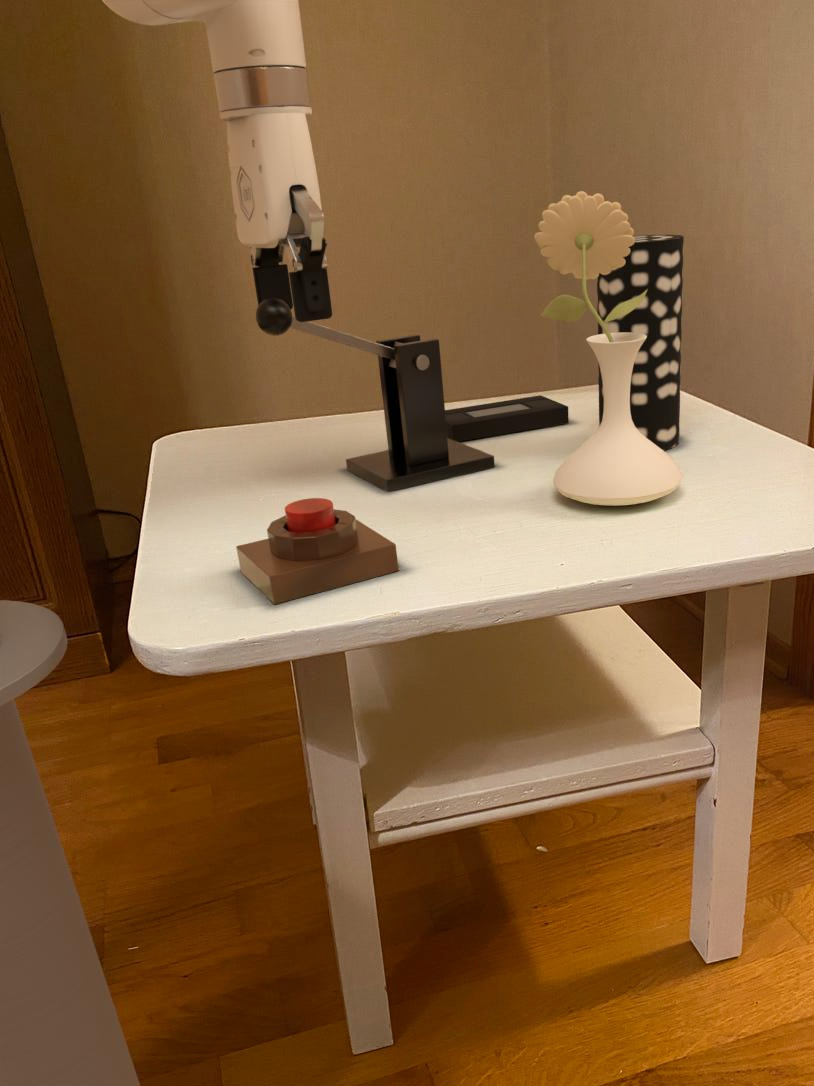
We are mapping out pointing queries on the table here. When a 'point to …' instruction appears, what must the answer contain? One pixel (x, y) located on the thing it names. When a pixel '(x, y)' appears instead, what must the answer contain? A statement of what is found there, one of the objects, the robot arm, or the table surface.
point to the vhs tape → (504, 417)
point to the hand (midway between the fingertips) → (294, 315)
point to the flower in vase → (603, 358)
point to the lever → (312, 329)
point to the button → (310, 515)
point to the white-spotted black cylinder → (649, 332)
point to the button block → (315, 558)
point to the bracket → (415, 423)
